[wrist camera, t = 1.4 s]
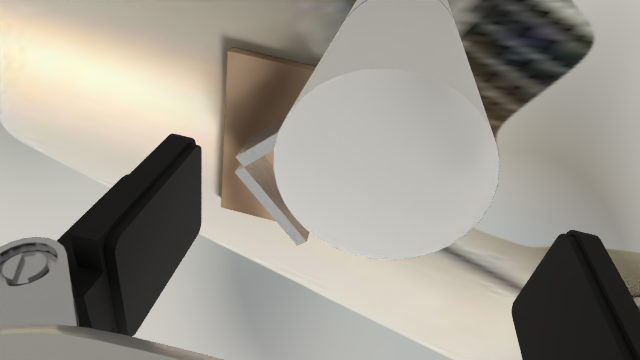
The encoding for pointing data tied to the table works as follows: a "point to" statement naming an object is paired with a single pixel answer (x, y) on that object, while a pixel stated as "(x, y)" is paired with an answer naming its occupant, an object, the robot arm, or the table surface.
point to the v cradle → (258, 134)
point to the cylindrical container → (389, 136)
